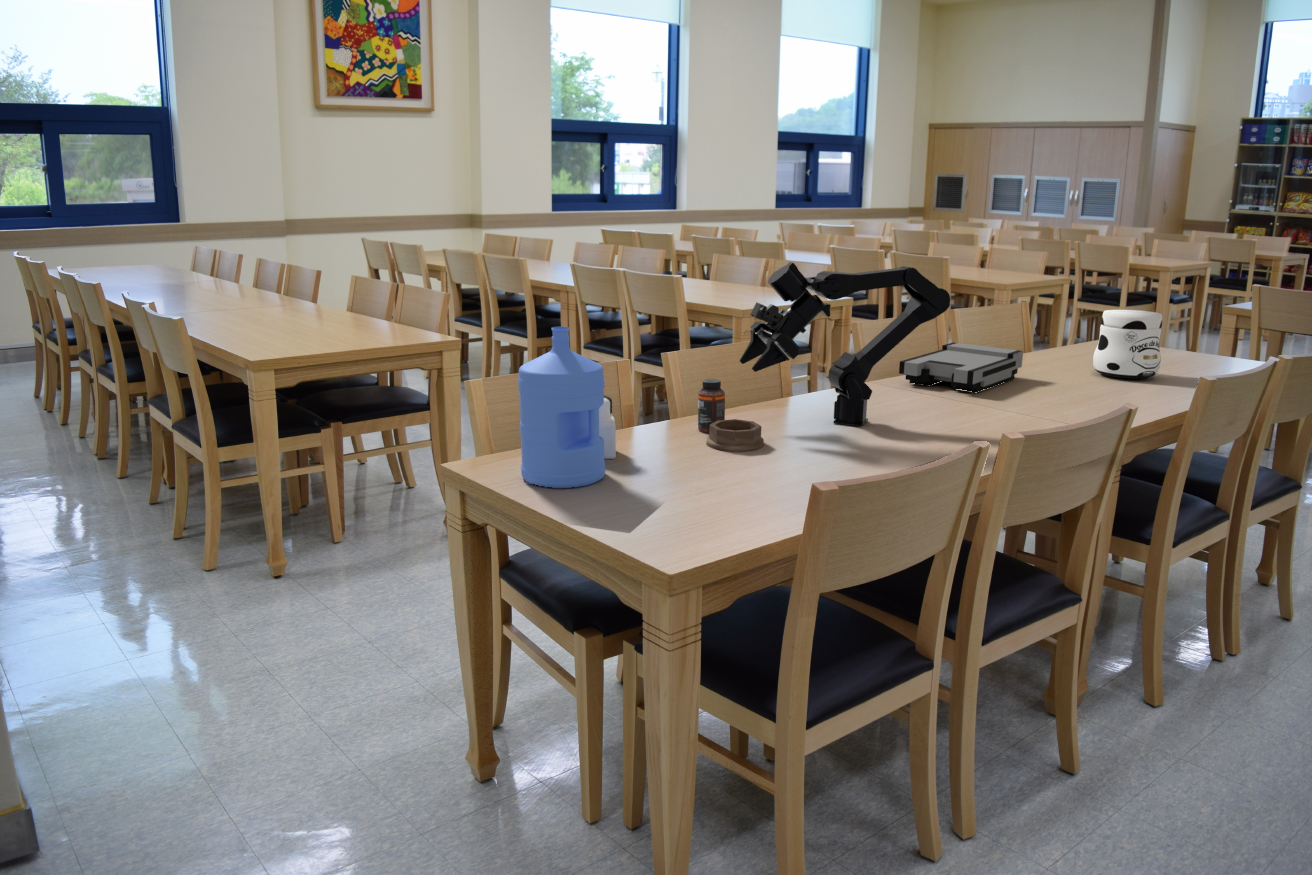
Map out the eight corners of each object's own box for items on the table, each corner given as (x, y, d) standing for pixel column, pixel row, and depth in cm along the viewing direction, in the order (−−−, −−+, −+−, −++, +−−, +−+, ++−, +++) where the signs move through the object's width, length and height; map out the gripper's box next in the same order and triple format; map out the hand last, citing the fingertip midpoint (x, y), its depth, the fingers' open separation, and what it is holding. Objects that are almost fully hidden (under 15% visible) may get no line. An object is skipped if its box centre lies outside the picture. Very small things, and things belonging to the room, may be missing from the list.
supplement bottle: (727, 428, 217) (728, 378, 214) (720, 434, 211) (721, 384, 208) (701, 426, 219) (702, 376, 216) (694, 432, 213) (695, 382, 210)
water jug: (505, 484, 177) (500, 331, 170) (545, 461, 191) (541, 319, 184) (583, 494, 172) (581, 337, 164) (618, 470, 186) (617, 324, 178)
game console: (897, 386, 262) (900, 356, 260) (950, 370, 285) (952, 342, 283) (971, 398, 249) (974, 367, 247) (1020, 379, 272) (1023, 350, 270)
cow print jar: (1154, 384, 265) (1163, 319, 260) (1086, 377, 274) (1093, 314, 269) (1161, 374, 279) (1170, 312, 274) (1097, 368, 288) (1104, 307, 283)
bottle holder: (771, 440, 207) (772, 422, 206) (751, 454, 196) (751, 435, 195) (719, 433, 212) (720, 416, 211) (697, 447, 202) (697, 428, 201)
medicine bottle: (579, 450, 199) (578, 393, 196) (614, 449, 200) (614, 392, 197) (579, 459, 192) (579, 400, 189) (615, 459, 193) (615, 400, 190)
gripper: (761, 285, 219) (712, 334, 220) (789, 295, 202) (735, 348, 202) (792, 320, 223) (743, 368, 223) (821, 332, 205) (769, 384, 206)
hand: (746, 366), depth 214 cm, fingers open, 9 cm apart
